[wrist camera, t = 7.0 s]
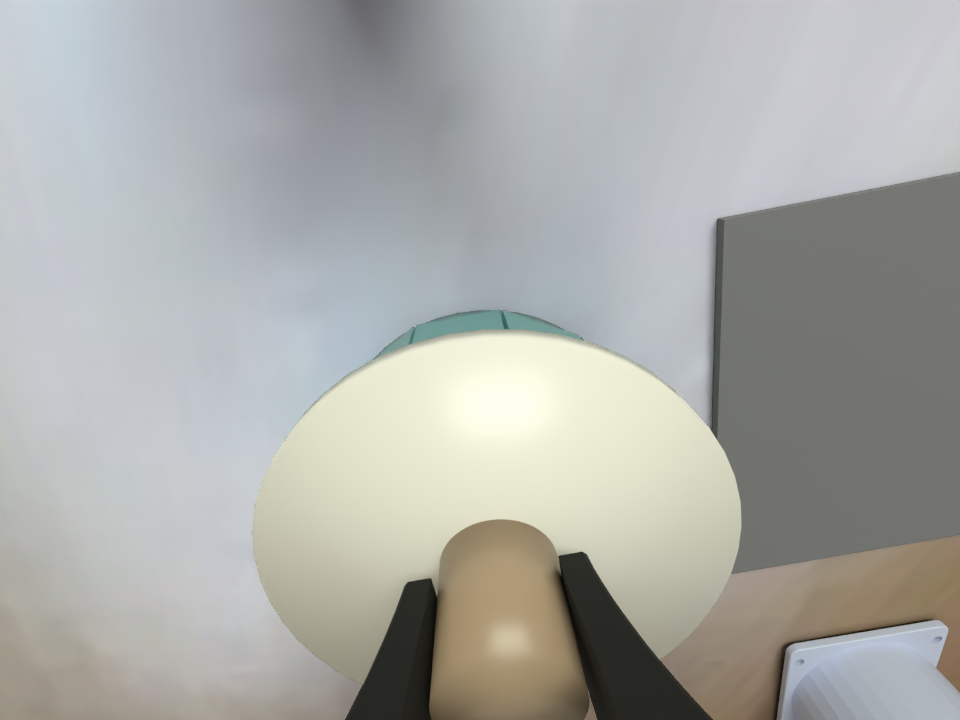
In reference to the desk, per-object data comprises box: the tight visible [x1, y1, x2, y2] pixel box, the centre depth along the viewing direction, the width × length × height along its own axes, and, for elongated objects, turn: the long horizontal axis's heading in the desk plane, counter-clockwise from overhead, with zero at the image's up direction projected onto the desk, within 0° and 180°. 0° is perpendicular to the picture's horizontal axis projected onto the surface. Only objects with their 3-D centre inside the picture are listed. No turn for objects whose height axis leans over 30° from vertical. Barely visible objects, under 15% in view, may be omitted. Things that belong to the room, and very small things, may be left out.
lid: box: [252, 329, 741, 720], centre depth 11 cm, size 13×13×4 cm
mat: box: [712, 172, 960, 574], centre depth 17 cm, size 16×16×1 cm
